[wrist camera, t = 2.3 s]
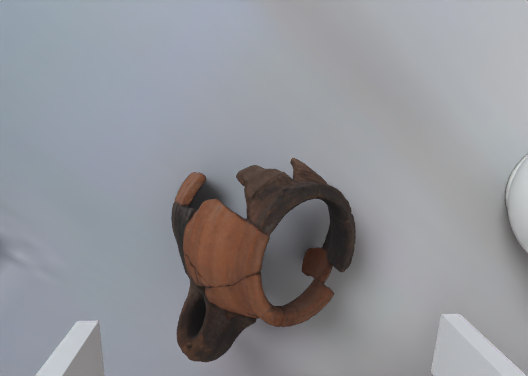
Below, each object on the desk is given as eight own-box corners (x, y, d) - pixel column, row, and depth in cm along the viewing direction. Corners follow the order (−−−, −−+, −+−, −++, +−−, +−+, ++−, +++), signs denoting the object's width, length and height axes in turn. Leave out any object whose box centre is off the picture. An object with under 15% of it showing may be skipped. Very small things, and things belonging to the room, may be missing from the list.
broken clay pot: (197, 121, 20) (284, 129, 13) (297, 181, 25) (390, 207, 19) (107, 306, 19) (151, 415, 12) (231, 324, 24) (306, 405, 18)
